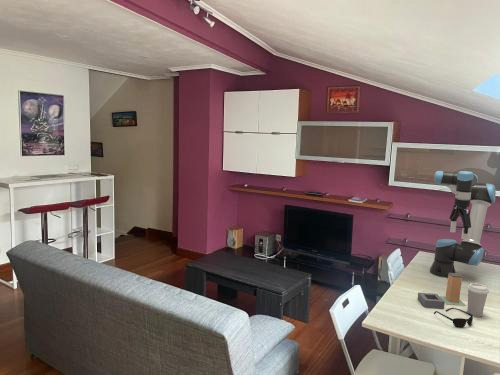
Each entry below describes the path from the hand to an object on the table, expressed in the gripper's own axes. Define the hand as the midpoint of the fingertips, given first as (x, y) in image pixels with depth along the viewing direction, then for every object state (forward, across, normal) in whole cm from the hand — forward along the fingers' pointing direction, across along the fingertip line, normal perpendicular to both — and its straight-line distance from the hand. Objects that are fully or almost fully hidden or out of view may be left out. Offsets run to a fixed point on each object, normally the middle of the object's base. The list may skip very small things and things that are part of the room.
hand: (458, 235), depth 213 cm
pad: (+34, +13, -5) cm, 37 cm away
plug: (+34, +13, -5) cm, 36 cm away
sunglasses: (+34, +35, -15) cm, 51 cm away
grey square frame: (+34, +18, -19) cm, 43 cm away
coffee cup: (+34, +27, 0) cm, 43 cm away
